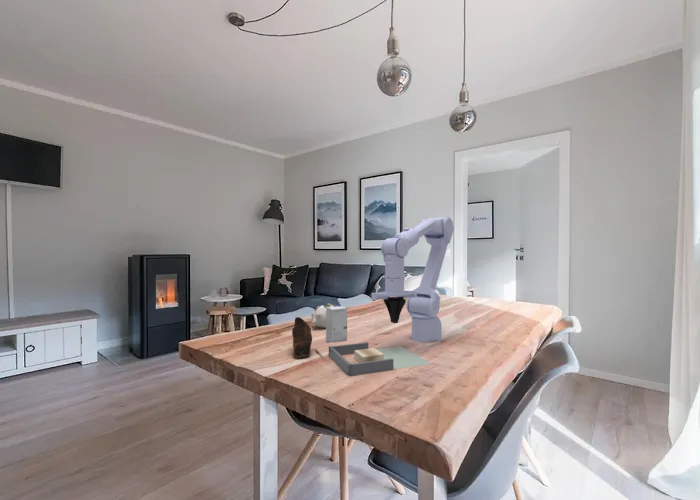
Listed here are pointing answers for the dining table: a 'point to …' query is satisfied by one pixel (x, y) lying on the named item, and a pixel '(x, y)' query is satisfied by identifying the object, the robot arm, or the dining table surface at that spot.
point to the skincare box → (336, 324)
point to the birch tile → (368, 355)
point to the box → (357, 368)
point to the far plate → (402, 357)
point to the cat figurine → (320, 316)
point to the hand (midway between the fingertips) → (394, 322)
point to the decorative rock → (301, 338)
